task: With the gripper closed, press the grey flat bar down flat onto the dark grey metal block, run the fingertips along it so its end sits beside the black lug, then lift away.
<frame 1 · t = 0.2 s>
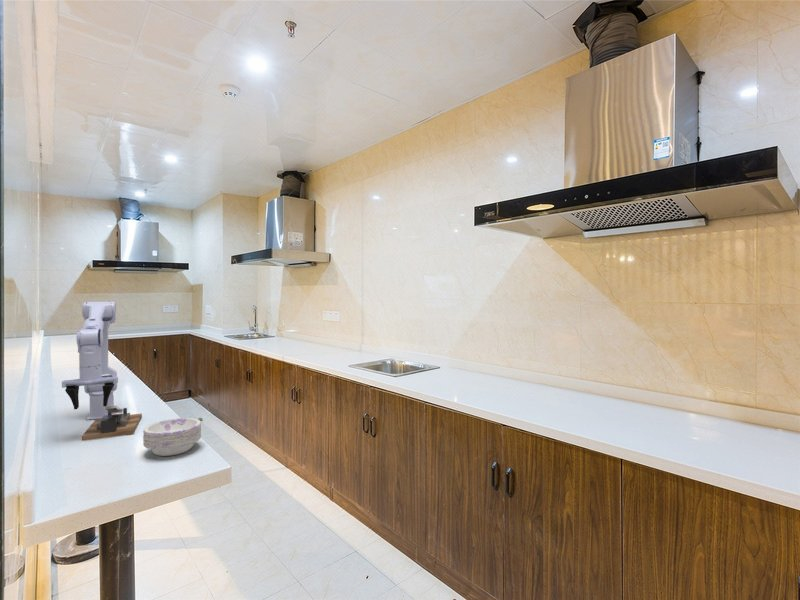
hand: (91, 407, 132), 10 cm above the table, tool pointing down, fingers open, 7 cm apart
grey flat bar: (114, 408, 141), point 7 cm above the table, hinge at 22.0°
paper bowls: (173, 451, 122), on the table
clamp block: (113, 419, 140), on the board, point 4 cm above the table
board: (114, 428, 141), on the table
soupspoon: (187, 432, 139), resting in paper bowls
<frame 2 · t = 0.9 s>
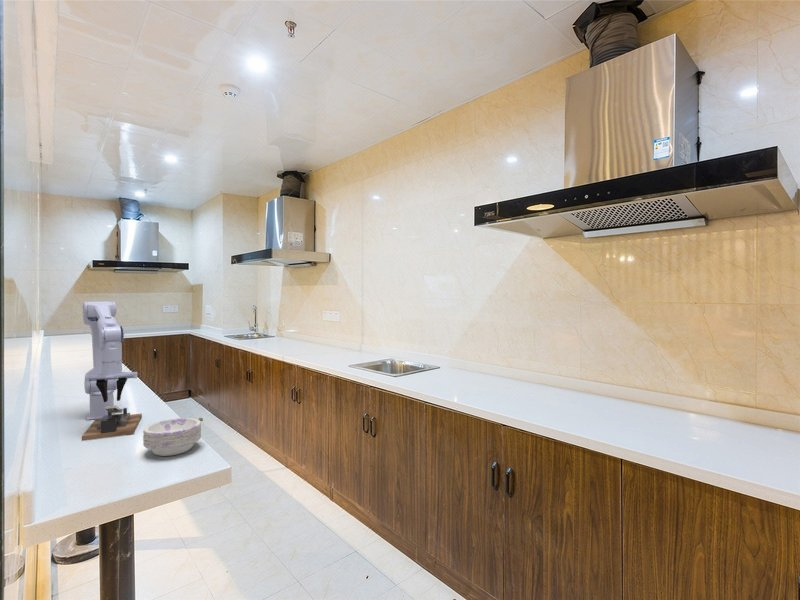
hand: (112, 400, 138), 10 cm above the table, tool pointing down, fingers open, 3 cm apart
nothing on the table moved.
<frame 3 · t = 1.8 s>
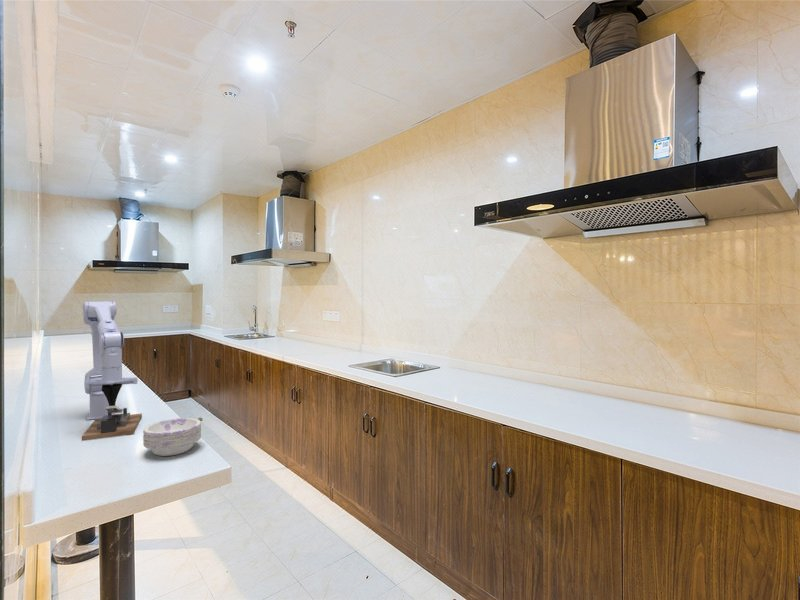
hand: (112, 406, 138), 8 cm above the table, tool pointing down, fingers closed, pressing on grey flat bar
grey flat bar: (114, 408, 141), point 7 cm above the table, hinge at 22.0°, touching gripper
everything else where it was.
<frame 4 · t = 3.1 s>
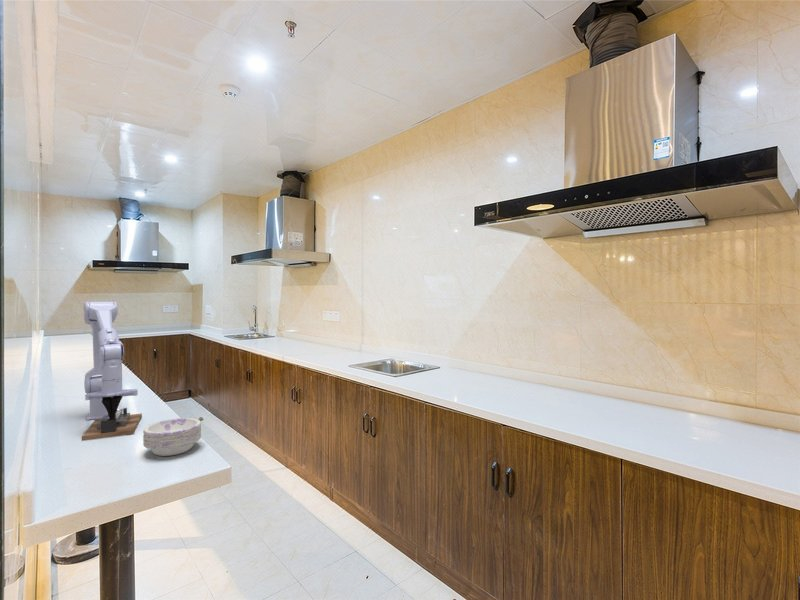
hand: (112, 418, 138), 4 cm above the table, tool pointing down, fingers closed, pressing on grey flat bar
grey flat bar: (114, 416, 141), point 4 cm above the table, hinge at -0.8°, touching gripper
everything else where it was.
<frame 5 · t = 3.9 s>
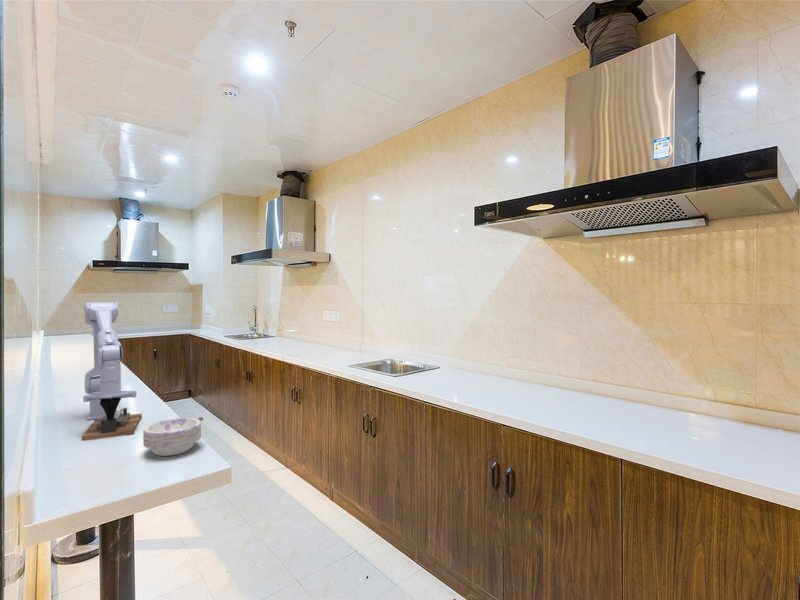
hand: (110, 420, 136), 4 cm above the table, tool pointing down, fingers closed
grey flat bar: (114, 416, 141), point 4 cm above the table, hinge at -1.0°
everything else where it was.
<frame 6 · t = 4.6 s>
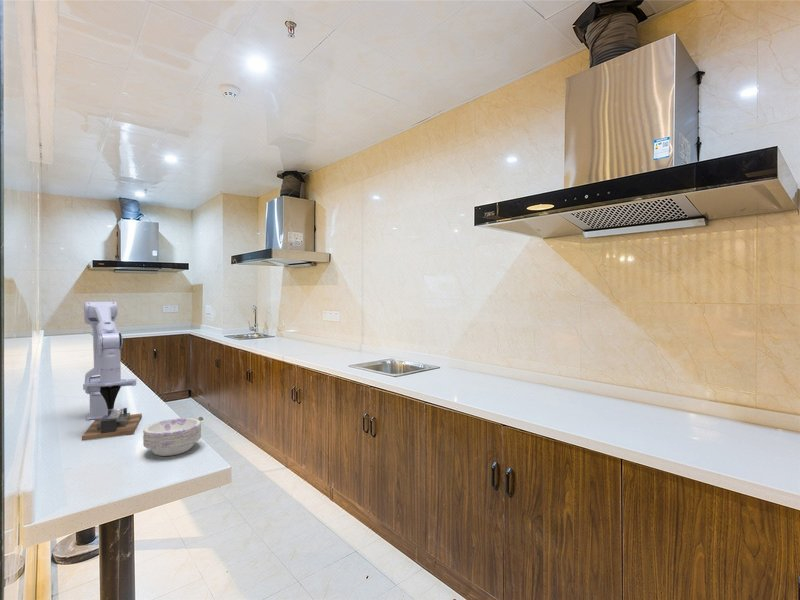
hand: (110, 408, 136), 8 cm above the table, tool pointing down, fingers closed
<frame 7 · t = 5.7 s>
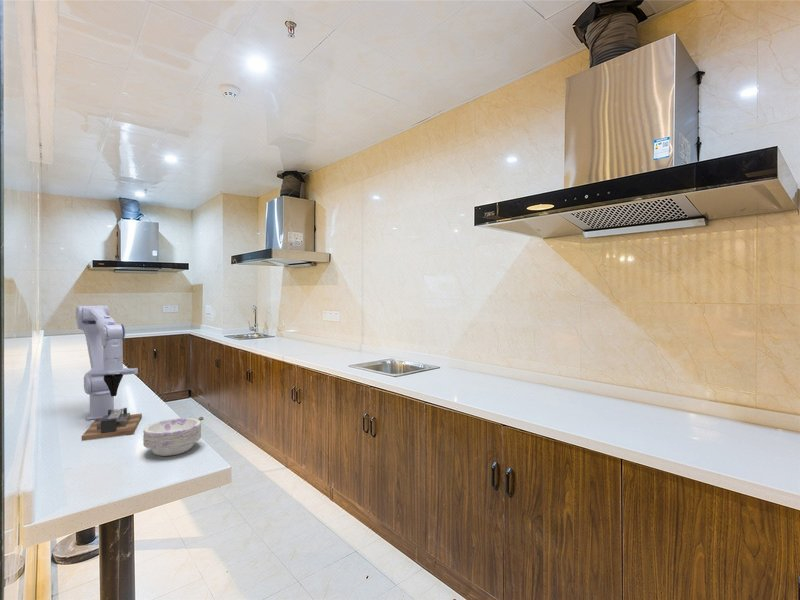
hand: (113, 395, 145), 10 cm above the table, tool pointing down, fingers closed
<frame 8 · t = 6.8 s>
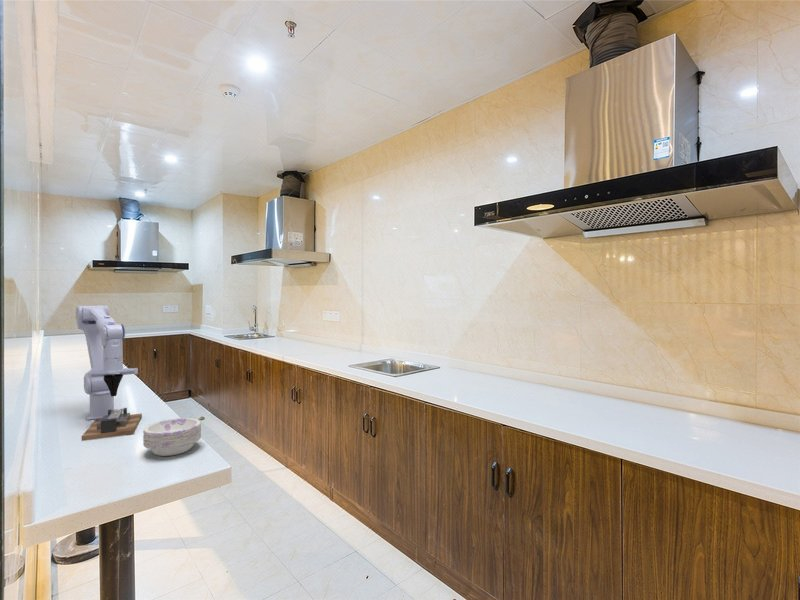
hand: (113, 395, 145), 10 cm above the table, tool pointing down, fingers closed
at the end: grey flat bar at -1° (first picture: +22°) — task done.
